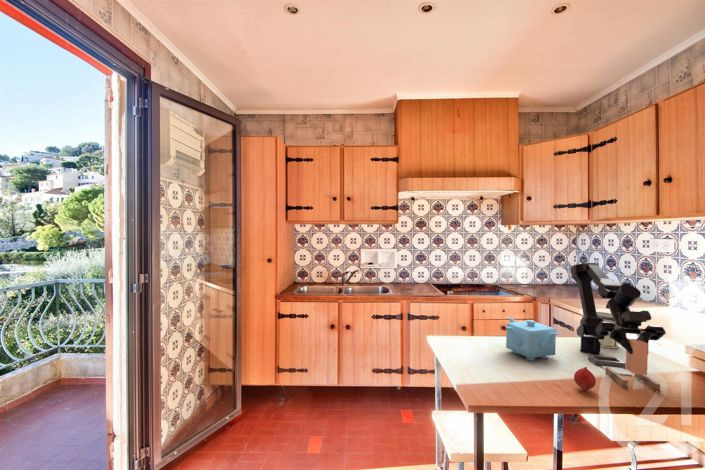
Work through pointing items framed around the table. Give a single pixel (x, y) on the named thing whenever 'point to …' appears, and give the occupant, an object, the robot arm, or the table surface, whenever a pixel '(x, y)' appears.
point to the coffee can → (607, 340)
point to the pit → (606, 361)
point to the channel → (644, 378)
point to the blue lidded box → (530, 339)
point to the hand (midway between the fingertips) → (639, 354)
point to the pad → (618, 370)
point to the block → (637, 357)
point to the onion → (584, 379)
